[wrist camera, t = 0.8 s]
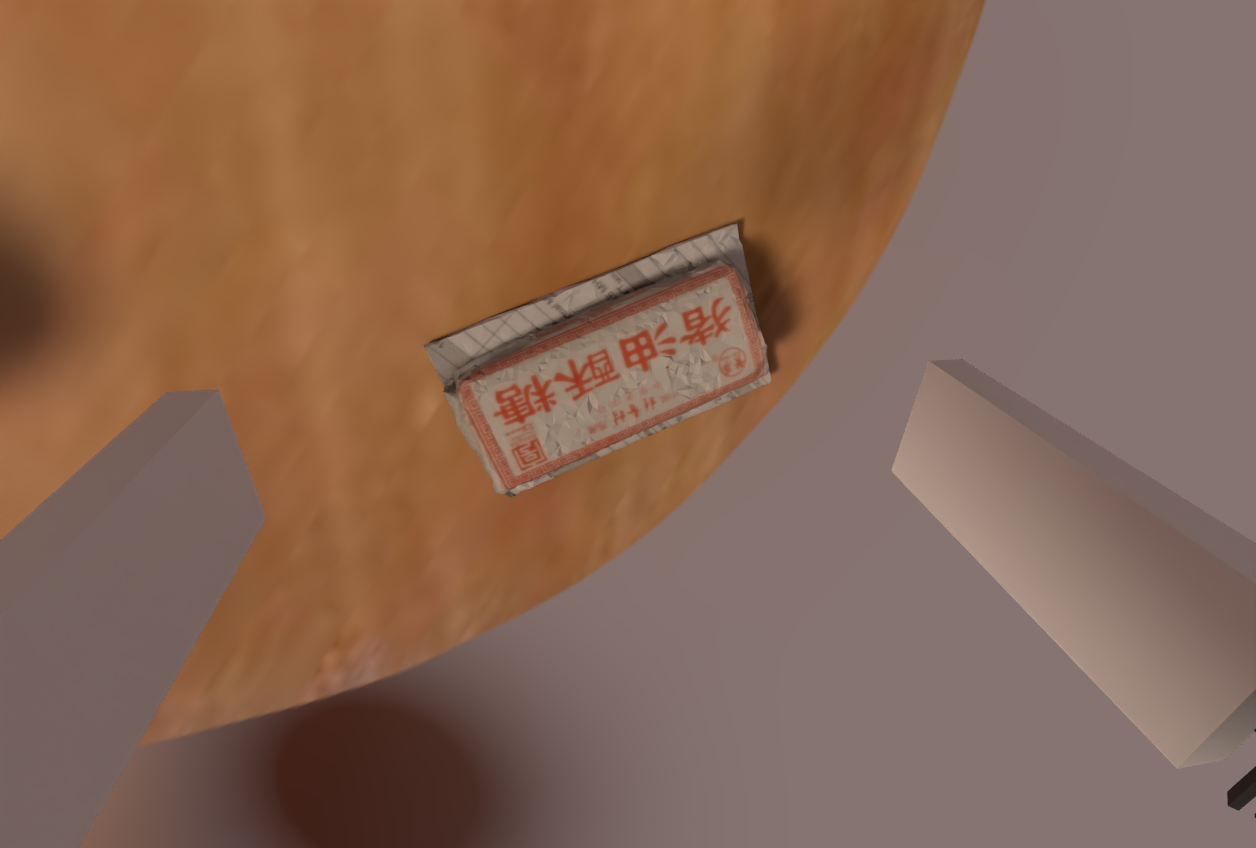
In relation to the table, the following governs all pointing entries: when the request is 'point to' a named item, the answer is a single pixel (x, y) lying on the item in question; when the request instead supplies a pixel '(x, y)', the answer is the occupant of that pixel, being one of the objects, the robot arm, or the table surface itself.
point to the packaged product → (605, 361)
